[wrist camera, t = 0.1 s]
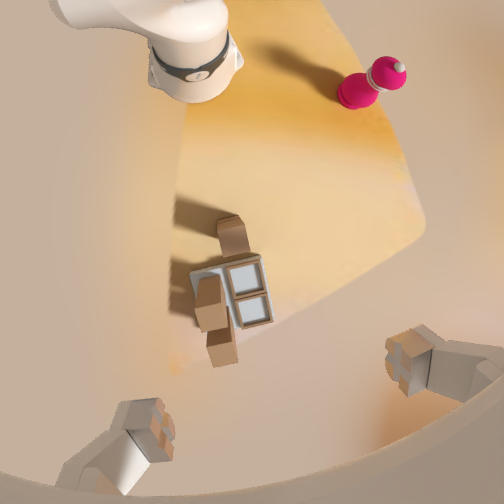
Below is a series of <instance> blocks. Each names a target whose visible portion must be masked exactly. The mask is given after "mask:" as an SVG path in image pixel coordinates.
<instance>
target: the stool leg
mask: <svg viewBox="0 0 504 504" xmlns="http://www.w3.org/2000/svg"><path fill="white" fill-rule="evenodd" d="M217 233H218V237H219V241H220V246H221V250H222V254H223V258H224V257H228V256H233V255H237V254H241V253H245V252H250V247H249V242H248V238H247V233H246V229H245V224H244V223H243V221H242V220H241V218H240V217H239V216H238V215H236V216H232V217H228V218H223V219H219V220H217Z"/></svg>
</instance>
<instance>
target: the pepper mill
mask: <svg viewBox="0 0 504 504" xmlns="http://www.w3.org/2000/svg"><path fill="white" fill-rule="evenodd" d="M405 81H406V71H405V66H404V64H403V63H401V62H399V61H398V60H396V59H395V58H392V57H388V56H385V57H380V58H378V59H377V60H376V61H375V62H374V63H373V66H372V67H370V68H369V69H368V71H367V73H355V74H351V75H349V76H348V77H346V78H345V80H344V81H343V83H342V84H341V85H340V86H339V88H338V90H337V96H338V99H339V101H340V102H341V103H342V104H343V105H344V106H345V107H346V108H349V109H353V110H354V109H358V108H364V107H368V106H370V105H371V104H373V103H374V102H375V100H376V99H377V96H378V93H379V92H385V91H388V90H396V89H399V88H400V87H402V86H403V85H404V83H405Z"/></svg>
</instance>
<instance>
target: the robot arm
mask: <svg viewBox="0 0 504 504" xmlns="http://www.w3.org/2000/svg"><path fill="white" fill-rule="evenodd" d="M49 2H50V6H51V8H52V11H53V12H54V14H55V15H56V17H57V18H58V19H59V20H60V21H62V22H63V23H65V24H66V25H68V26H70V27H72V28H76V29H88V28H99V27H101V28H102V27H104V28H106V27H107V28H117V29H123V30H128V31H132V32H135V33H138V34H140V35H143V36H145V37H147V38H148V48H149V49H151V51H150V54H149V60H150V61H149V74H148V82H149V85H150V86H152V87H154V88H157V89H161V90H163V91H165V92H166V93H167V94H168V95H169V96H171V97H172V98H174V99H176V100H178V101H181V102H185V103H200V102H204V101H208V100H210V99H212V98H214V97H216V96H218V95H219V94H220V93H222V92H223V91H224V90H225V88H226V87H227V86H228V84H229V83H230V81H231V79H232V77H233V75H234V73H235V72H237V71H238V70H239V69H240V68H241V67H242V66H243V65H244V60H243V58H242V56H241V54H240V52H239V50H238V48H237V46H236V44H235V42H234V40H233V38H232V37H231V35H230V33H229V31H228V29H227V26H228V9H227V7H226V4H225V3H224V1H223V0H49ZM153 75H154V77H153ZM385 348H386V349H387V350H388V351H389V352H388V354H387V356H386V358H385V366H386V370H387V373H388V374H389V376H390V377H391V379H392V380H394V381H397V382H399V388H400V389H401V390H402V391H403V393H404V394H405V395H406V396H407V397H410V396H412V395H414V394H416V393H418V392H420V391H422V390H424V389H426V388H427V389H428V390H430V391H433V392H435V393H438V394H441V395H444V396H446V397H449V398H452V399H455V400H458V401H461V402H463V404H462V405H460V406H459V407H457V408H455V409H454V410H452V411H451V412H449V413H447V414H446V415H444V416H442V417H441V418H439V419H437V420H436V421H434V422H432V423H430V424H429V425H427V426H425V427H423V428H421V429H419V430H418V431H416V432H414V433H412V434H410V435H408V436H406V437H404V438H402V439H400V440H398V441H396V442H394V443H391V444H389V445H387V446H385V447H383V448H380V449H378V450H376V451H374V452H371V453H369V454H366V455H364V456H361V457H359V458H356V459H353V460H351V461H348V462H345V463H343V464H340V465H337V466H334V467H331V468H328V469H325V470H321V471H318V472H315V473H312V474H308V475H305V476H301V477H297V478H293V479H290V480H286V481H282V482H277V483H272V484H268V485H263V486H258V487H253V488H247V489H241V490H234V491H227V492H219V493H210V494H199V495H186V496H185V495H184V496H126V494H127V493H128V492H129V490H130V489H131V488H132V487H133V486H134V484H135V483H136V482H137V480H138V479H139V478H140V477H141V475H142V474H143V473H144V472H145V470H146V469H147V467H148V466H149V465H150V463H154V462H167V461H172V459H173V448H174V447H173V445H172V444H171V442H172V440H174V439H175V427H174V423H173V420H172V418H171V416H170V415H169V414H168V413H166V412H165V411H164V408H165V405H164V403H163V402H162V400H161V399H160V398H151V399H140V400H129V401H121V402H120V403H119V405H118V408H117V410H116V413H115V416H114V418H113V421H112V424H111V426H110V429H109V431H105V432H103V433H102V434H101V435H100V436H99V437H97V438H96V439H95V440H93V441H92V442H91V443H90V444H88V445H87V446H86V447H85V448H83V449H82V450H81V451H80V452H78V453H77V454H76V455H75V456H73V457H72V458H71V459H69V460H68V461H67V462H66V463H64V465H63V467H62V470H61V472H60V475H59V477H58V480H57V482H56V485H55V486H50V485H46V484H41V483H38V482H34V481H30V480H25V479H22V478H19V477H16V476H12V475H9V474H6V473H3V472H0V504H504V348H502V347H498V346H490V345H481V344H474V343H467V342H459V341H453V340H448V341H445V340H444V339H442V338H441V337H440V336H438V335H437V334H436V333H434V332H433V331H431V330H430V329H429V328H427V327H426V326H425V325H423V324H419V325H416V326H414V327H412V328H410V329H409V330H406V331H404V332H402V333H399V334H397V335H394V336H392V337H390V338H387V340H386V345H385Z"/></svg>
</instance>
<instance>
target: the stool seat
mask: <svg viewBox="0 0 504 504" xmlns="http://www.w3.org/2000/svg"><path fill="white" fill-rule="evenodd" d="M189 276H190V280H191V283H192V287H193V290H194V294H195V297H196V301H195V306H194V310H195V314H196V317H197V320H198V323H199V326H200V329H201V332H202V333H203V332H206V333H207V346H206V347H207V350H208V353H209V356H210V359H211V362H212V365H213V367H214V368H215V367H220V366H225V365H229V364H234V363H238V357H237V349H236V341H235V333H234V329H237V328H242V330H243V329H247V328H251V327H255V326H260V325H264V324H268V323H272V322H273V320H274V319H275V316H274V311H273V307H272V302H271V297H270V292H269V288H268V283H267V278H266V273H265V269H264V264H263V259H262V257H261V255H258V256H254V257H250V258H245V259H241V260H237V261H233V262H228V263H224V264H220V265H216V266H211V267H207V268H203V269H199V270H194V271H190V274H189Z"/></svg>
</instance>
